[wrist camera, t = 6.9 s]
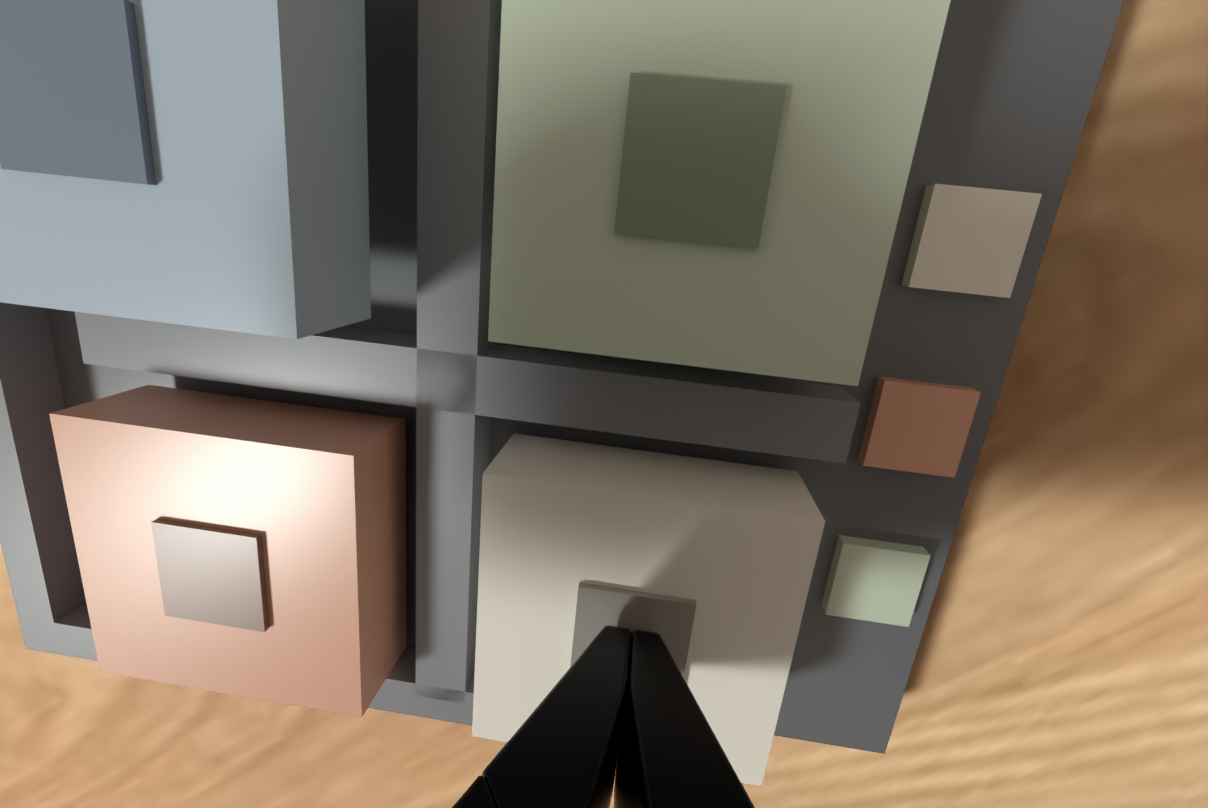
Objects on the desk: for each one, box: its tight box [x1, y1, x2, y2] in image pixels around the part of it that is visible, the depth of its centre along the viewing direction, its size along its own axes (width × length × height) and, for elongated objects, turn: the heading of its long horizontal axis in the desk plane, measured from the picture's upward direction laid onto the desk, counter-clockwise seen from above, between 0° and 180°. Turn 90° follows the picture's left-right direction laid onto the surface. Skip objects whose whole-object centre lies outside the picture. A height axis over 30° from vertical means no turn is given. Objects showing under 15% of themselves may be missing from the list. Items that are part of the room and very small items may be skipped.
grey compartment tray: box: [0, 0, 1124, 754], centre depth 10 cm, size 18×14×2 cm
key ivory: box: [472, 433, 825, 786], centre depth 10 cm, size 5×5×2 cm
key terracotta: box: [49, 385, 406, 717], centre depth 10 cm, size 5×5×2 cm
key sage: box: [488, 0, 951, 386], centre depth 8 cm, size 5×5×2 cm
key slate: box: [0, 0, 371, 339], centre depth 7 cm, size 5×5×2 cm
